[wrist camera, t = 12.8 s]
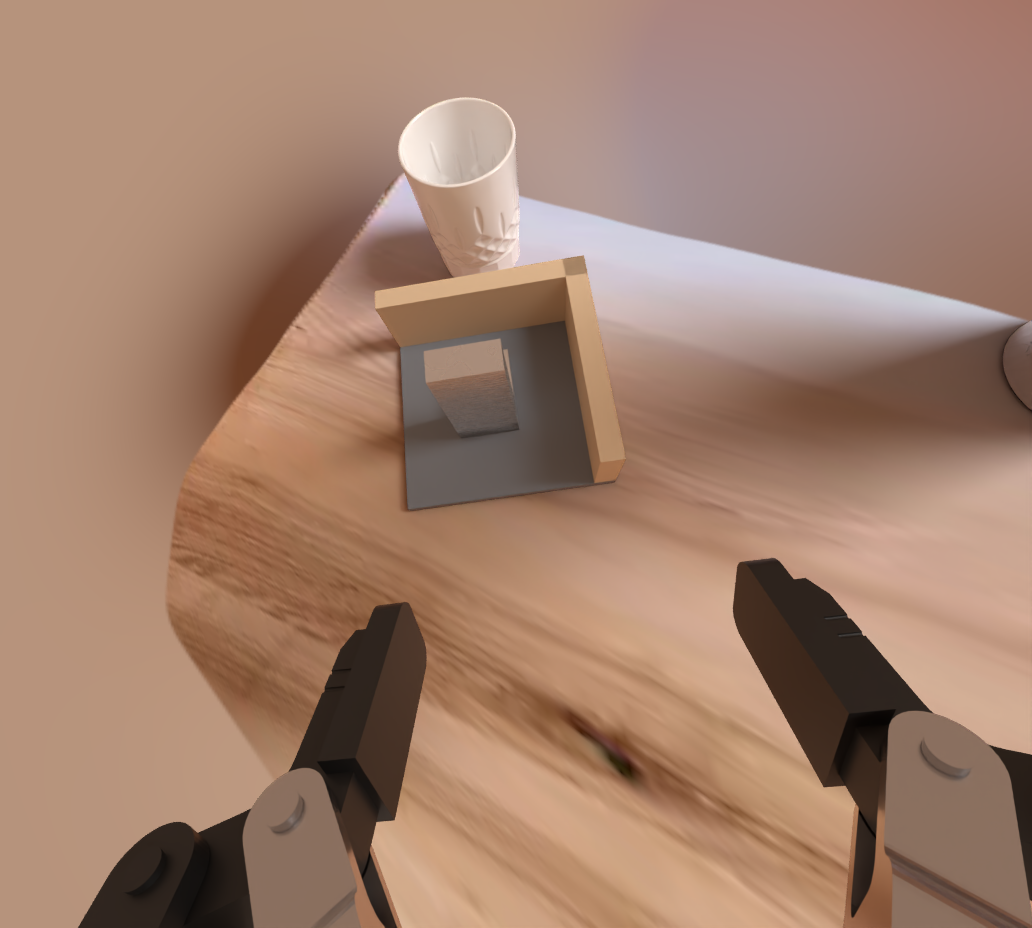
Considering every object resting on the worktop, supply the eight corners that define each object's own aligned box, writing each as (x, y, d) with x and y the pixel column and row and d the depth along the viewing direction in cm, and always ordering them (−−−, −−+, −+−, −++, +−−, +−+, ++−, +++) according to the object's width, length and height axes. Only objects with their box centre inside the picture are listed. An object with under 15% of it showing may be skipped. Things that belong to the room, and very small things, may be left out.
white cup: (450, 303, 37) (411, 202, 27) (429, 234, 39) (386, 118, 30) (538, 275, 37) (530, 163, 27) (511, 207, 39) (496, 83, 30)
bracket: (509, 359, 34) (492, 279, 25) (519, 429, 32) (504, 370, 24) (454, 368, 34) (419, 292, 26) (461, 438, 32) (425, 382, 24)
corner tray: (580, 306, 35) (583, 255, 30) (614, 482, 31) (625, 458, 26) (402, 335, 36) (374, 291, 31) (410, 511, 32) (380, 494, 26)
